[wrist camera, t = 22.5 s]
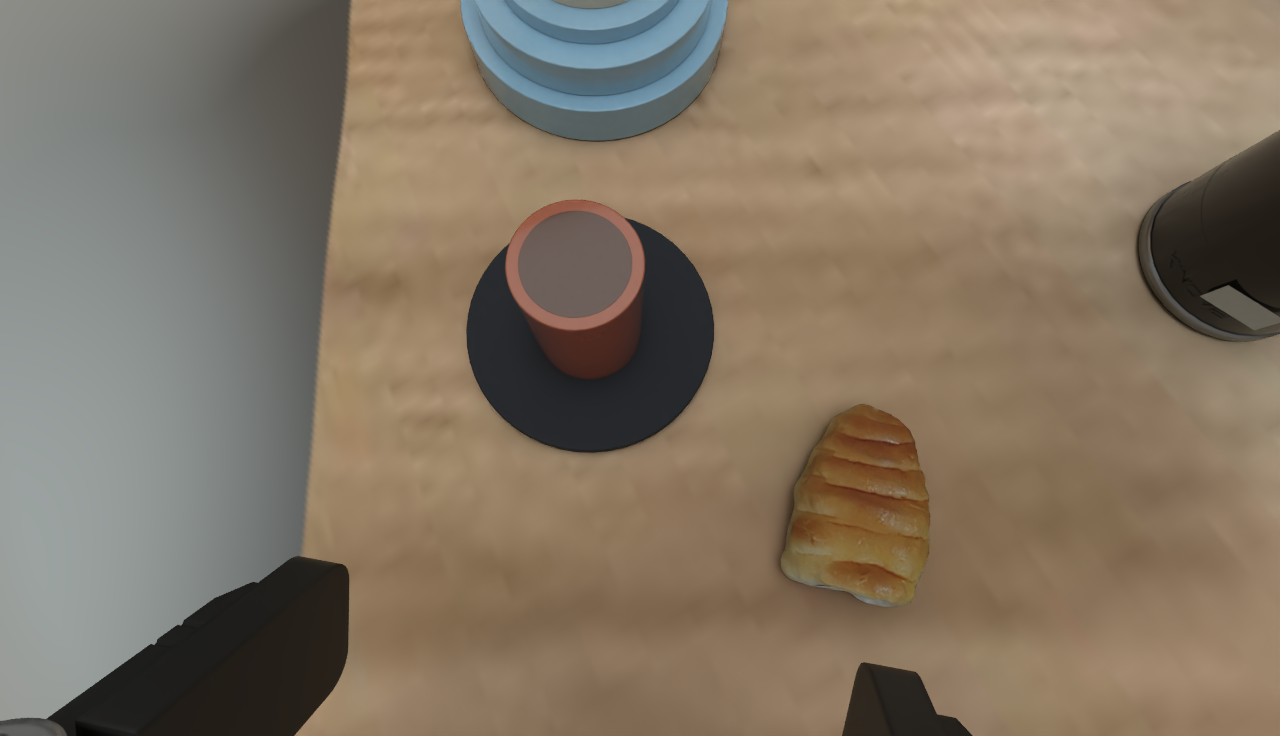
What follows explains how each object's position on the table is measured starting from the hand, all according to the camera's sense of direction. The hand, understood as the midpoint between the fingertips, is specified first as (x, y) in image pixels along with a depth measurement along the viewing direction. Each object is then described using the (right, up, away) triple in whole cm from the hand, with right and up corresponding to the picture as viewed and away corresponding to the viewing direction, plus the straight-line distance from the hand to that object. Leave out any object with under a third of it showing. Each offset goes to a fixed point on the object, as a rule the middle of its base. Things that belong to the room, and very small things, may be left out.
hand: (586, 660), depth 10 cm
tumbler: (-2, +7, +23) cm, 24 cm away
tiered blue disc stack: (-2, +25, +28) cm, 38 cm away
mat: (-2, +7, +24) cm, 25 cm away
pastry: (+11, -3, +22) cm, 25 cm away
